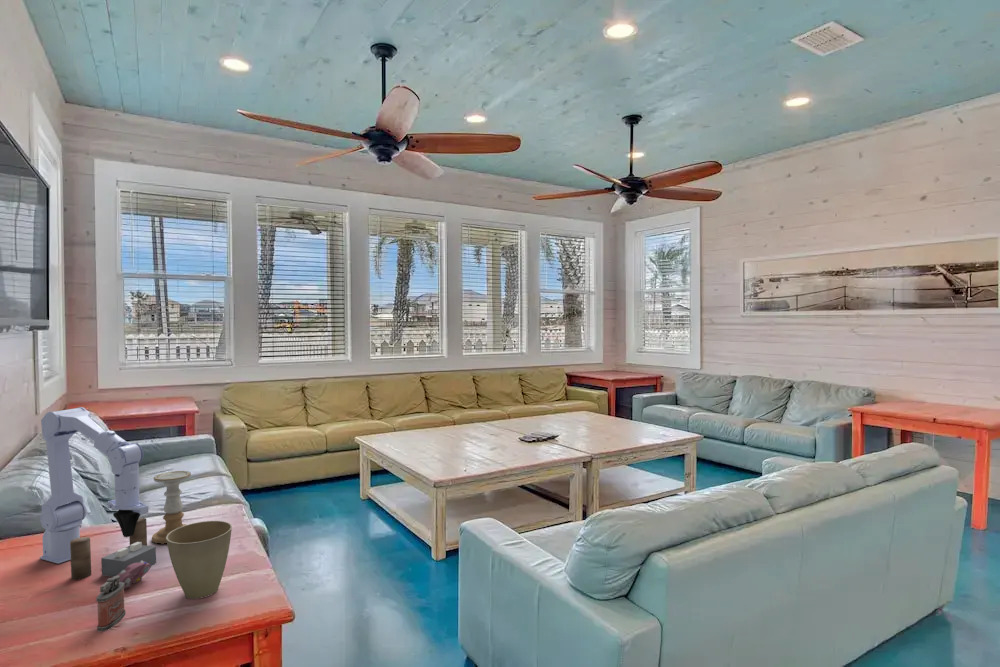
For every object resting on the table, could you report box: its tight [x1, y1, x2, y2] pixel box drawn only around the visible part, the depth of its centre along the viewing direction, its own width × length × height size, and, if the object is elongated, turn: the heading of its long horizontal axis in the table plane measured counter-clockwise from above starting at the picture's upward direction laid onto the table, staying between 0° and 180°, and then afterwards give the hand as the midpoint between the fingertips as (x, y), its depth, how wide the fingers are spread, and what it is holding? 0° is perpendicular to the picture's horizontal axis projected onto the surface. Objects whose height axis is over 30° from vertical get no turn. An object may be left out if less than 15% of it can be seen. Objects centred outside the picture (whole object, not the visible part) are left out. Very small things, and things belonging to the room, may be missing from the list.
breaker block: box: [100, 542, 157, 578], centre depth 160 cm, size 8×10×7 cm
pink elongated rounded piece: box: [117, 561, 152, 590], centre depth 150 cm, size 10×5×7 cm, turn 169°
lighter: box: [95, 576, 126, 632], centre depth 132 cm, size 8×3×10 cm, turn 5°
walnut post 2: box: [128, 517, 148, 546], centre depth 170 cm, size 4×4×10 cm
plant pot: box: [166, 520, 233, 600], centre depth 146 cm, size 15×15×16 cm
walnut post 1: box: [70, 536, 92, 581], centre depth 156 cm, size 4×4×10 cm
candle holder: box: [151, 470, 192, 545], centre depth 183 cm, size 12×12×20 cm
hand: (128, 535), depth 160 cm, fingers closed
